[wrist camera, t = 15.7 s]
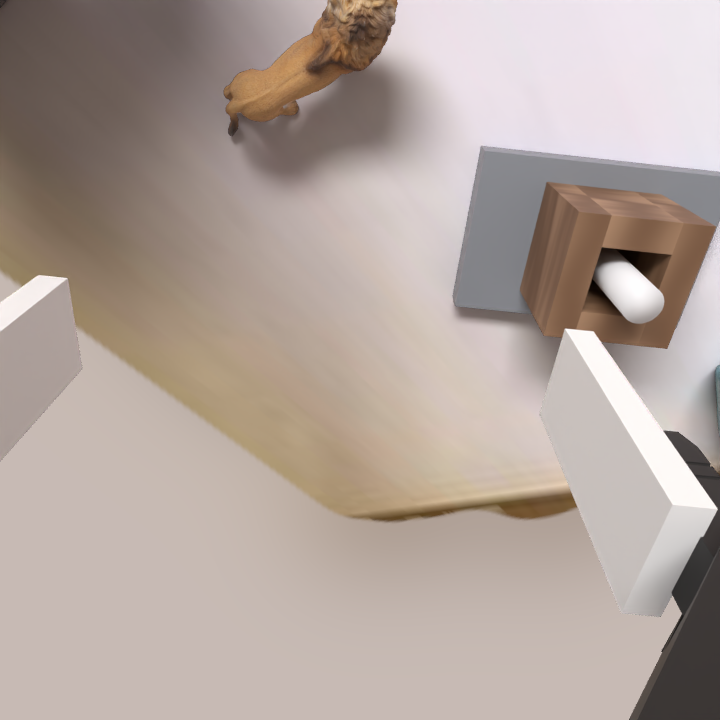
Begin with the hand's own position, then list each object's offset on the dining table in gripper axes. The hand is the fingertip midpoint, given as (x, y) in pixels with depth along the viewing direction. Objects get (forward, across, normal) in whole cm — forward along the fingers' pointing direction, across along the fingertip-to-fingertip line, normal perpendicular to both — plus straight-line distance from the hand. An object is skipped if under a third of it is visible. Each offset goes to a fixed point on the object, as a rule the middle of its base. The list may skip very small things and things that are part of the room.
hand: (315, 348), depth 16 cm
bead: (+30, +18, -5) cm, 35 cm away
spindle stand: (+32, +18, -5) cm, 37 cm away
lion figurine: (+32, -4, +6) cm, 33 cm away
